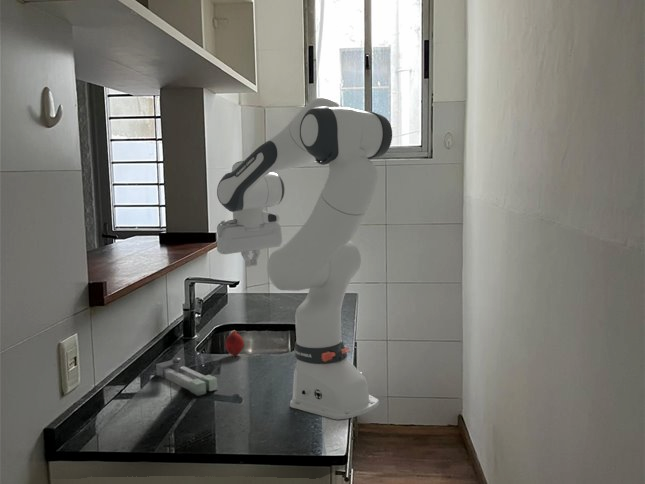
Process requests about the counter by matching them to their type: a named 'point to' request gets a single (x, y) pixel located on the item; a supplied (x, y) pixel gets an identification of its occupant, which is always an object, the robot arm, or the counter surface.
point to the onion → (234, 343)
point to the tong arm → (197, 376)
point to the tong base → (180, 377)
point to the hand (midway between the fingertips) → (251, 266)
